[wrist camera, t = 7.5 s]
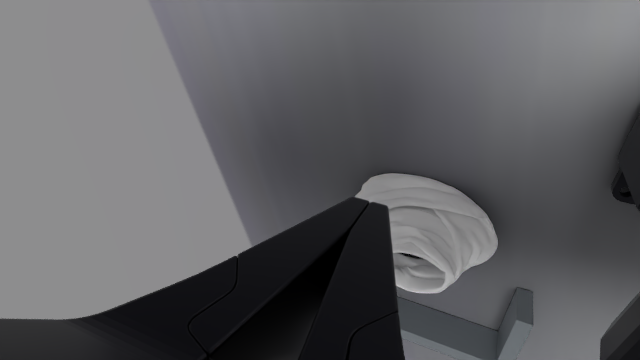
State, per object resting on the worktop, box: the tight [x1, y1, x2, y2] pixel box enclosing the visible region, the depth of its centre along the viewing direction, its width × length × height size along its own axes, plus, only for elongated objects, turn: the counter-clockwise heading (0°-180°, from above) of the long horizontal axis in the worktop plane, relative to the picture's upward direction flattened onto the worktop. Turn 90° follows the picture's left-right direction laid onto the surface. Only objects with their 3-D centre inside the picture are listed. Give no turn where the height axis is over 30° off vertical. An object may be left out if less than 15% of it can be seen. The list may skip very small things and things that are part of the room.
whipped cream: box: [355, 173, 498, 293], centre depth 21 cm, size 8×7×5 cm
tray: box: [397, 287, 533, 360], centre depth 25 cm, size 14×5×2 cm, turn 89°
